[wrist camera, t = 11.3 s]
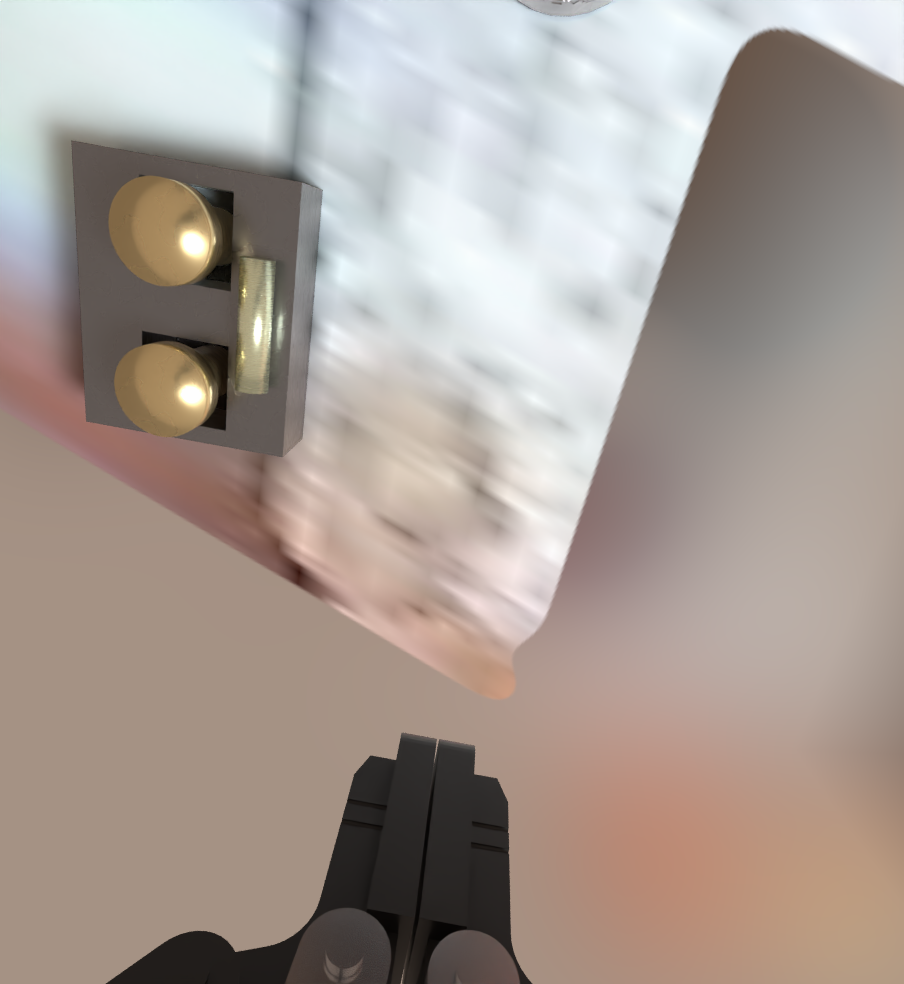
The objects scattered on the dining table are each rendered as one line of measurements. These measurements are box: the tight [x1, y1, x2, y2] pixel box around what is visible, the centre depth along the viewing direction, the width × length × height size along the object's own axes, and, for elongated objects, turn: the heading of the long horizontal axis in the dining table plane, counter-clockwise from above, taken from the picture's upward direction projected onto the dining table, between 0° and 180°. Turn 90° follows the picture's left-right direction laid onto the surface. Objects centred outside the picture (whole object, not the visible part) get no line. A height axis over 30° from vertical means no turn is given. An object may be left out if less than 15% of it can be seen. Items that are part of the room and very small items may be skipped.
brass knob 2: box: [114, 341, 229, 437], centre depth 36 cm, size 5×5×7 cm
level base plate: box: [72, 141, 323, 457], centre depth 35 cm, size 15×12×6 cm
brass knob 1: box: [109, 176, 233, 286], centre depth 33 cm, size 5×5×7 cm
